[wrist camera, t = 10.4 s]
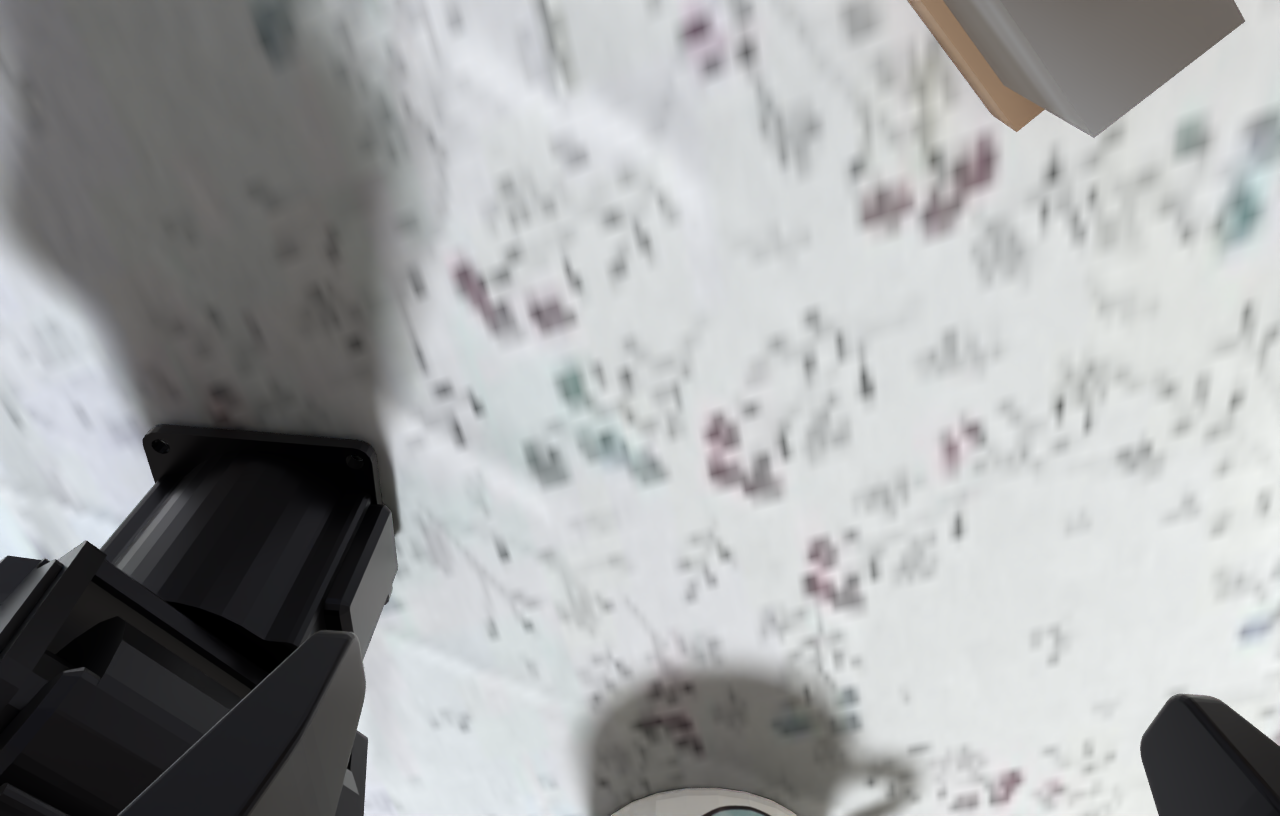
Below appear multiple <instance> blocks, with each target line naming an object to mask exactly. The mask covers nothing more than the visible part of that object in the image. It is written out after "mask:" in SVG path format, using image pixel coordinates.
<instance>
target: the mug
mask: <svg viewBox="0 0 1280 816" xmlns="http://www.w3.org/2000/svg"><path fill="white" fill-rule="evenodd" d="M611 816H797V815H796V814H794V813H793V812H792V811H790V810H788V809H787V808H785V807H783V806H781V805H780V804H778V803H776V802H774V801H773V800H770V799H767V798H764V797H761V796H757V795H754V794H751V793H748V792H744V791H736V790H729V789H722V788H684V789H678V790H672V791H666V792H660V793H656V794H653V795H650V796H647V797H645V798H642V799H639V800H636V801H633V802H631V803H630V804H628V805H626V806H625V807H623V808H621V809H620V810H618V811H617V812H615V813H613V814H612V815H611Z"/></svg>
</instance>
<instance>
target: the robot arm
mask: <svg viewBox="0 0 1280 816" xmlns="http://www.w3.org/2000/svg"><path fill="white" fill-rule="evenodd" d="M161 440H163V441H165V442H166V443H167V444H168V445H166V444H164V443H163V442H161ZM143 447H144V450H145V453H146V456H147V459H148V462H149V465H150V469H151V472H152V475H153V478H154V481H155V484H154V486H153V487H152V488H151V489H150V490H149V492H148V493H147V494H146V495H145V496H144V498H143V499H142V500H141V501H140V502H139V503H138V505H137V506H136V507H135V508H134V509H133V511H132V512H131V513H130V514H129V515H128V517H127V518H126V519H125V520H124V521H123V522H122V524H121V525H120V526H119V527H118V528H117V530H116V531H115V532H114V533H113V534H112V536H111V537H110V538H109V539H108V540H107V541H106V543H105V544H104V545H103V546H102V547H101V549H100V550H99V549H98V548H97V547H95V546H94V545H92V544H91V543H89V542H88V541H84V542H83V543H81V544H80V545H78V546H77V547H76V548H74V549H73V550H71V551H70V552H68V553H67V554H66V555H64V556H63V557H61V558H60V559H58V560H56V559H54V560H52V561H51V562H50V561H49V560H47V559H46V558H44V559H42V560H36V559H29V558H21V557H14V556H7V557H5V558H4V559H2V560H1V561H0V816H364V799H365V781H366V764H367V747H368V738H367V737H366V736H364V735H363V734H362V733H360V732H359V731H357V726H358V722H359V719H360V715H361V711H362V707H363V702H364V697H365V689H366V680H365V673H364V667H363V659H364V656H365V654H366V651H367V648H368V646H369V643H370V641H371V638H372V635H373V633H374V630H375V628H376V625H377V622H378V620H379V617H380V614H381V612H382V609H383V607H384V605H386V604H387V602H388V601H389V599H390V596H391V593H392V583H393V580H394V578H395V575H396V573H397V570H398V564H397V555H396V546H395V538H394V529H393V520H392V512H391V511H390V509H389V508H388V507H387V506H386V505H384V504H382V498H381V490H380V481H379V473H378V465H377V457H376V453H375V450H374V449H373V448H372V447H371V445H369V444H367V443H366V442H364V441H360V440H352V439H340V438H327V437H315V436H302V435H290V434H278V433H265V432H253V431H240V430H228V429H215V428H203V427H190V426H178V425H165V424H162V425H156V426H155V427H153V428H152V429H151V430H150V431H149V432H148V433H147V434H146V435H145V437H144V438H143ZM351 455H356V456H359V457H360V458H361V459H362V460H363V461H359V460H355V459H354V458H353V457H352V456H351ZM1140 751H1141V758H1142V762H1143V765H1144V769H1145V772H1146V775H1147V778H1148V782H1149V785H1150V788H1151V791H1152V795H1153V798H1154V801H1155V804H1156V808H1157V811H1158V814H1159V816H1280V746H1278V745H1277V744H1276V743H1275V742H1273V741H1272V740H1271V739H1270V738H1268V737H1267V736H1266V735H1265V734H1263V733H1262V732H1261V731H1259V730H1258V729H1257V728H1256V727H1254V726H1253V725H1252V724H1251V723H1249V722H1248V721H1247V720H1245V719H1244V718H1243V717H1242V716H1240V715H1239V714H1238V713H1237V712H1235V711H1234V710H1233V709H1231V708H1230V707H1229V706H1228V705H1226V704H1225V703H1224V702H1222V701H1221V700H1219V699H1217V698H1214V697H1211V696H1206V695H1193V694H1176V695H1174V696H1172V697H1171V698H1170V699H1169V700H1168V701H1167V702H1166V703H1165V705H1164V706H1163V708H1162V709H1161V710H1160V712H1159V713H1158V715H1157V716H1156V717H1155V719H1154V720H1153V722H1152V723H1151V724H1150V726H1149V727H1148V729H1147V730H1146V731H1145V733H1144V734H1143V736H1142V740H1141V746H1140Z"/></svg>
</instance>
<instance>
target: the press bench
mask: <svg viewBox="0 0 1280 816" xmlns="http://www.w3.org/2000/svg"><path fill="white" fill-rule="evenodd" d="M908 2H909V3H910V5H911V6H912V7H913V9H914V10H915V11H916V13H917V14H918V15H919V17H920V18H921V19H922V21H923V22H924V24H925V25H926V26H927V28H928V29H929V30H930V32H931V33H932V34H933V36H934V37H935V38H936V40H937V41H938V43H939V44H940V45H941V47H942V48H943V49H944V51H945V52H946V53H947V55H948V56H949V57H950V59H951V60H952V62H953V63H954V64H955V66H956V67H957V68H958V70H959V71H960V72H961V74H962V75H963V76H964V78H965V79H966V81H967V82H968V83H969V85H970V86H971V87H972V89H973V90H974V91H975V93H976V94H977V95H978V97H979V98H980V99H981V101H982V102H983V104H984V105H985V106H986V108H987V109H988V110H989V112H990V113H991V114H992V115H993V116H994V117H996V118H997V119H999V120H1000V121H1002V122H1003V123H1004V124H1006V125H1007V126H1009V127H1010V128H1012V129H1013V130H1015V131H1016V132H1017V131H1019V130H1020V129H1021V128H1022V127H1024V126H1025V125H1026V124H1027V123H1029V122H1030V121H1031V120H1032V119H1034V118H1035V117H1036V116H1037V115H1038V114H1040V113H1041V112H1042V111H1043V110H1047V111H1049V112H1050V113H1052V114H1054V115H1056V116H1057V117H1059V118H1061V119H1063V120H1064V121H1066V122H1068V123H1069V124H1071V125H1073V126H1075V127H1076V128H1078V129H1080V130H1081V131H1083V132H1085V133H1087V134H1088V135H1090V136H1092V137H1093V138H1094V137H1096V136H1097V135H1098V134H1100V133H1101V132H1102V131H1104V130H1105V129H1106V128H1107V127H1109V126H1110V125H1111V124H1113V123H1114V122H1115V121H1117V120H1118V119H1119V118H1120V117H1122V116H1123V115H1124V114H1126V113H1127V112H1128V111H1129V110H1131V109H1132V108H1133V107H1135V106H1136V105H1137V104H1139V103H1140V102H1141V101H1142V100H1144V99H1145V98H1146V97H1148V96H1149V95H1150V94H1152V93H1153V92H1154V91H1155V90H1157V89H1158V88H1159V87H1161V86H1162V85H1163V84H1164V83H1166V82H1167V81H1168V80H1170V79H1171V78H1172V77H1174V76H1175V75H1176V74H1177V73H1179V72H1180V71H1181V70H1183V69H1184V68H1185V67H1187V66H1188V65H1189V64H1190V63H1192V62H1193V61H1194V60H1196V59H1197V58H1198V57H1199V56H1201V55H1202V54H1203V53H1205V52H1206V51H1207V50H1209V49H1210V48H1211V47H1212V46H1214V45H1215V44H1216V43H1218V42H1219V41H1220V40H1222V39H1223V38H1224V37H1225V36H1227V35H1228V34H1229V33H1231V32H1232V31H1233V30H1234V29H1236V28H1237V27H1238V26H1240V25H1241V24H1242V23H1244V22H1245V20H1244V18H1243V16H1242V14H1241V13H1240V11H1239V9H1238V7H1237V5H1236V3H1235V2H1234V0H908Z"/></svg>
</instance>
